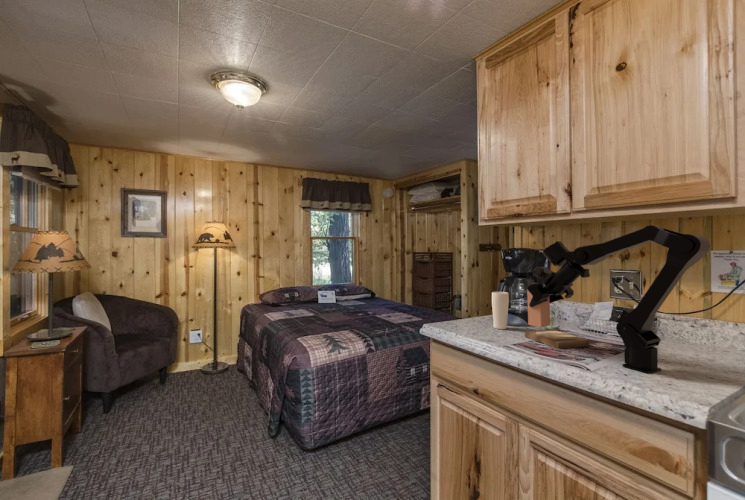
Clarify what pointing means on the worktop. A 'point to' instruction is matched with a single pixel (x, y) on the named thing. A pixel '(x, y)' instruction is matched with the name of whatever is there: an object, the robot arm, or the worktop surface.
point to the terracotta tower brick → (538, 313)
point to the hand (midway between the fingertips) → (535, 305)
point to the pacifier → (552, 324)
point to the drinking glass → (500, 309)
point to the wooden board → (557, 338)
